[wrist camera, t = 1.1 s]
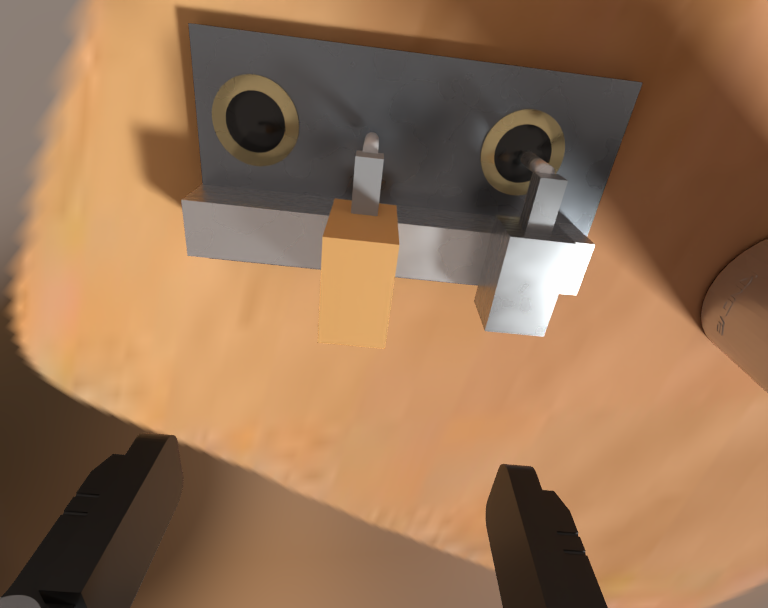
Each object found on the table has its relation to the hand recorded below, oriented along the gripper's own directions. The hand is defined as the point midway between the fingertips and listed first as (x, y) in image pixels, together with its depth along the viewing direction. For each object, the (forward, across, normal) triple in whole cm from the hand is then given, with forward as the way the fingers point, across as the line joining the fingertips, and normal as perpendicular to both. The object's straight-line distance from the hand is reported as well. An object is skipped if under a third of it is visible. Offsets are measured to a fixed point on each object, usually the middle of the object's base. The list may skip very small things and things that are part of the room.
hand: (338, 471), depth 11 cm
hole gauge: (+18, -2, -3) cm, 18 cm away
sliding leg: (+16, 0, -2) cm, 16 cm away
